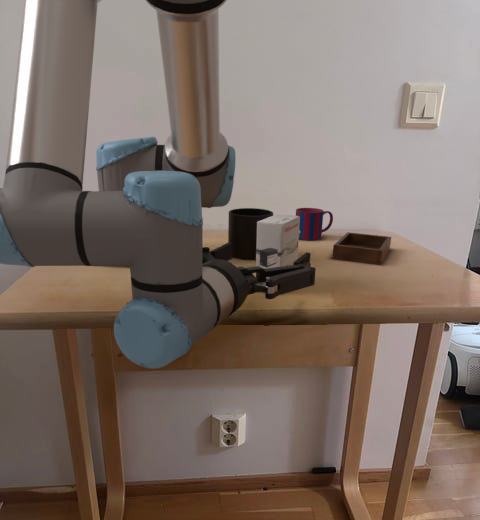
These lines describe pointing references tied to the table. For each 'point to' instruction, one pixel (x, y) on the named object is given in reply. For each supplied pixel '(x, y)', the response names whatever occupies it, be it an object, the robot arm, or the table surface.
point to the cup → (312, 223)
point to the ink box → (277, 241)
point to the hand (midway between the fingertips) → (267, 255)
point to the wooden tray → (362, 248)
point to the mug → (245, 230)
